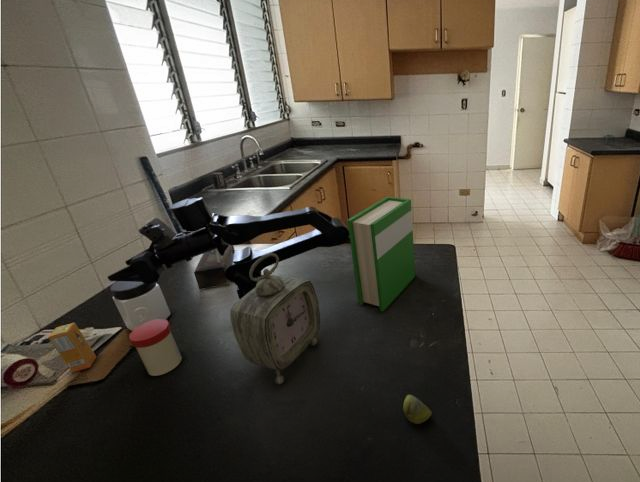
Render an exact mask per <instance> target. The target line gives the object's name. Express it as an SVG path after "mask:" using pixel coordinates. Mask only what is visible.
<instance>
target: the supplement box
mask: <svg viewBox="0 0 640 482" xmlns="http://www.w3.org/2000/svg"><path fill="white" fill-rule="evenodd" d="M47 338H48V340H49V341H50V343H51V344H52V345H53V347H54V349H55V350H56V351H57V353H58V354H59V355H60V357H61V358H62V360H63V361H64V363H65V364H66V365H67V367H68V368H69V370H70V371H71V373H76V372H81V371H83V370H86V369H90V368H91V367H92V365H93V364H94V363H95V360H96V358H97V356H96V354H95V351H94V350H93V348H92V347H91V345H90V343H89V342H88V341H87V339H86V337H85V336H84V334H83V333H82V331H81V330H80V328H79V327H78V325H77V324H76V322H71V323H68V324H63V325H60V326H57V327H55V328H54V329H53V331H52V332H51V333H50V334H49V336H48V337H47Z"/></svg>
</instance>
